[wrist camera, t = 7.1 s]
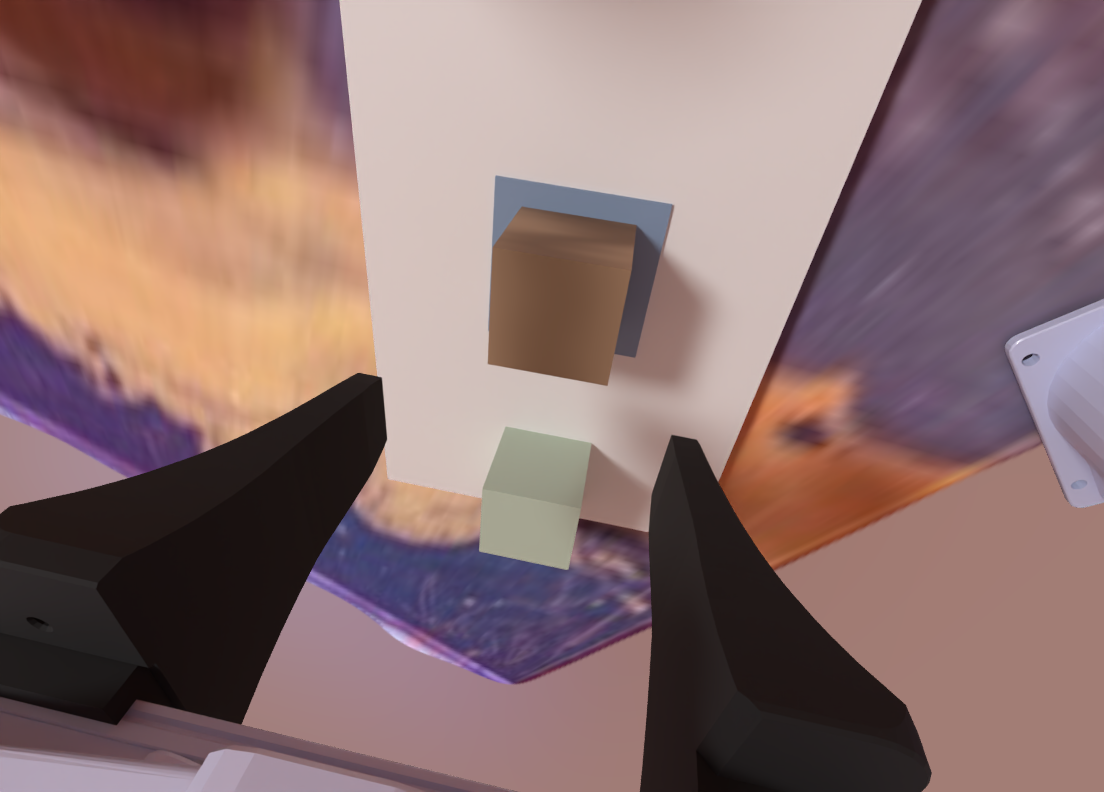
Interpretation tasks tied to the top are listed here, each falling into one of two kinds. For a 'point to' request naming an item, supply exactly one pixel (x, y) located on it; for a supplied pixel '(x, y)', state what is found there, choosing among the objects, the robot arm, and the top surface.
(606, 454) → the white flat panel
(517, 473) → the sage block
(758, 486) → the top surface
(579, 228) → the walnut block
